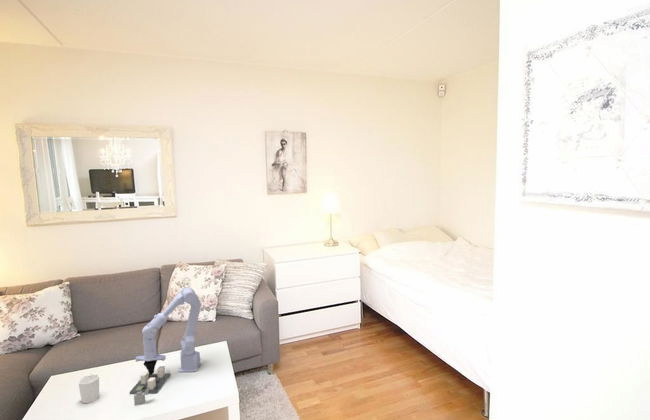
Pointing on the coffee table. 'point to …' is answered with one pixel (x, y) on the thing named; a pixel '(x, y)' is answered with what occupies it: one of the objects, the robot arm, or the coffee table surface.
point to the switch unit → (142, 387)
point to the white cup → (89, 388)
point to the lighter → (141, 396)
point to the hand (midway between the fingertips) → (151, 373)
